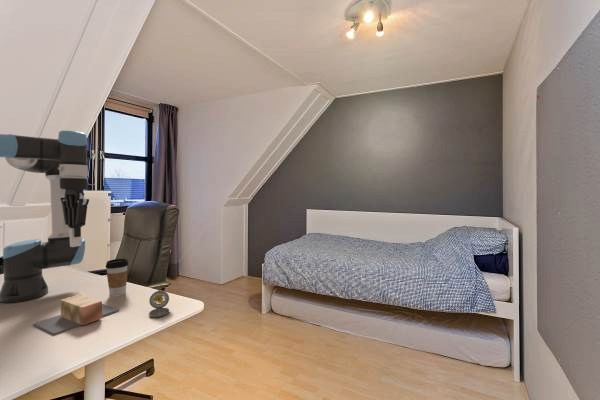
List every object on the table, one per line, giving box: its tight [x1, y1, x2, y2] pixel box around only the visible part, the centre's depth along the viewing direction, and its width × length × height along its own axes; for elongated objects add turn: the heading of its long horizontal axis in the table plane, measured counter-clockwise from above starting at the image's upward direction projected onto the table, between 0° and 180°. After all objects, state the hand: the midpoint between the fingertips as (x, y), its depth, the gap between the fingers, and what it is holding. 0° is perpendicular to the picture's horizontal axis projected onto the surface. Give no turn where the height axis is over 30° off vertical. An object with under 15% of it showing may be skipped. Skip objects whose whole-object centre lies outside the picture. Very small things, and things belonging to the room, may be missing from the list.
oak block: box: [60, 294, 103, 326], centre depth 99 cm, size 6×6×14 cm
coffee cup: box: [105, 258, 129, 297], centre depth 123 cm, size 8×8×15 cm
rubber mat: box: [32, 303, 120, 336], centre depth 100 cm, size 14×20×1 cm
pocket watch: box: [148, 283, 170, 318], centre depth 105 cm, size 8×8×10 cm
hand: (75, 246), depth 97 cm, fingers closed
